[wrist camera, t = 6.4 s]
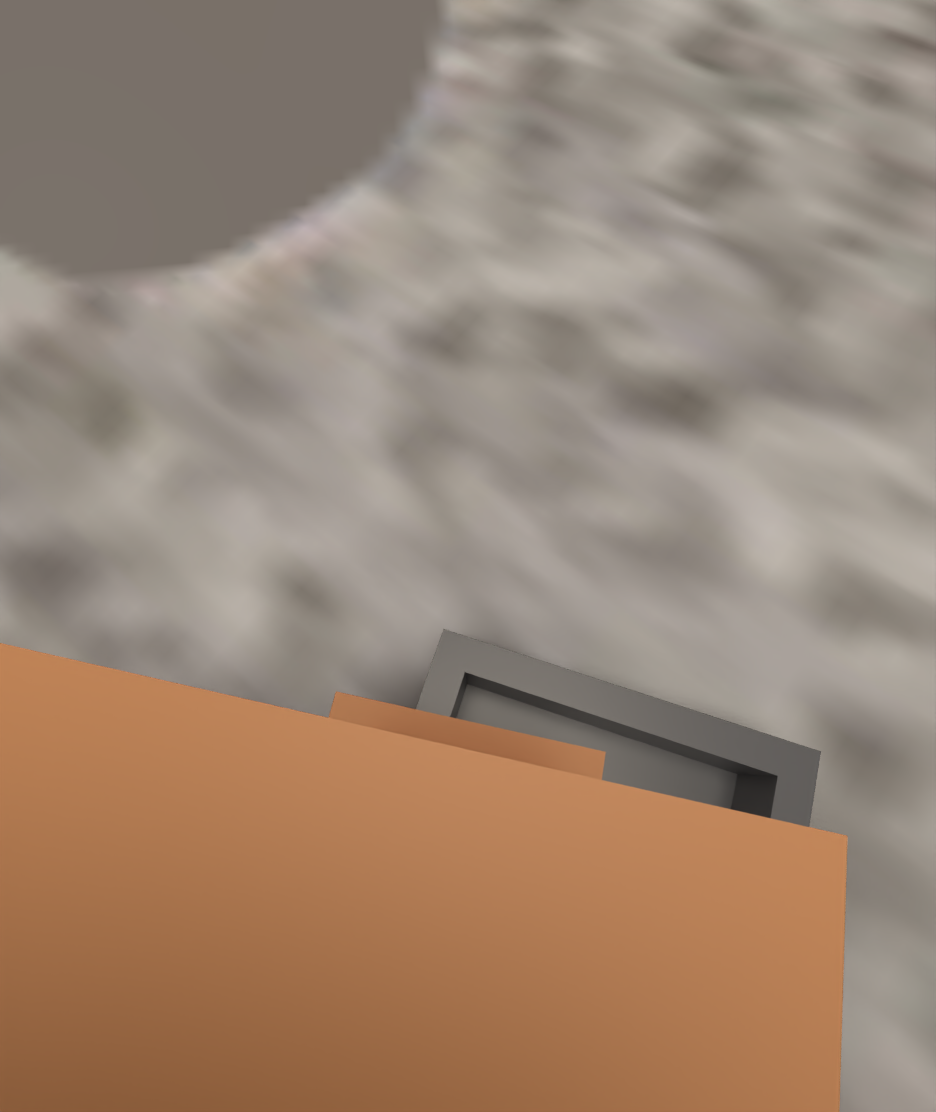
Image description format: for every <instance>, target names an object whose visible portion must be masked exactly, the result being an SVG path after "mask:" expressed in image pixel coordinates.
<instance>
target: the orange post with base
mask: <svg viewBox="0 0 936 1112" xmlns="http://www.w3.org/2000/svg"><path fill="white" fill-rule="evenodd" d="M605 754H606V752H604V751H600V750H595V749H591V748H586V747H582V746H578V745H573V744H569V743H564V742H560V741H555V740H551V739H546V738H542V737H537V736H533V735H528V734H524V733H519V732H515V731H510V730H506V729H501V728H497V727H493V726H488V725H484V724H479V723H475V722H470V721H466V720H461V719H457V718H452V717H448V716H443V715H439V714H434V713H430V712H425V711H421V710H416V709H412V708H407V707H403V706H399V705H394V704H390V703H385V702H381V701H376V700H372V699H367V698H363V697H358V696H354V695H349V694H345V693H340V692H336V693H335V697H334V700H333V704H332V707H331V711H330V715H329V718H327V717H323V716H318V715H314V714H310V713H305V712H301V711H296V710H292V709H288V708H283V707H279V706H274V705H270V704H266V703H261V702H257V701H252V700H248V699H244V698H239V697H235V696H230V695H226V694H222V693H217V692H213V691H208V690H204V689H200V688H195V687H191V686H186V685H182V684H178V683H173V682H169V681H164V680H160V679H156V678H151V677H147V676H142V675H138V674H134V673H129V672H125V671H120V670H116V669H112V668H107V667H103V666H98V665H94V664H90V663H85V662H81V661H77V660H72V659H68V658H63V657H59V656H55V655H50V654H46V653H41V652H37V651H33V650H28V649H24V648H19V647H15V646H11V645H6V644H2V643H0V1112H839V1104H840V1070H841V1036H842V1002H843V968H844V934H845V900H846V866H847V836H846V835H841V834H837V833H833V832H828V831H824V830H819V829H815V828H811V827H806V826H802V825H797V824H793V823H789V822H784V821H780V820H775V819H771V818H767V817H762V816H758V815H754V814H749V813H745V812H740V811H736V810H732V809H727V808H723V807H718V806H714V805H710V804H705V803H701V802H696V801H692V800H688V799H683V798H679V797H674V796H670V795H666V794H661V793H657V792H652V791H648V790H644V789H639V788H635V787H630V786H626V785H622V784H617V783H613V782H608V781H604V780H602V774H603V768H604V761H605Z"/></svg>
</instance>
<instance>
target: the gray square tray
mask: <svg viewBox="0 0 936 1112" xmlns="http://www.w3.org/2000/svg"><path fill="white" fill-rule="evenodd" d="M416 710H421V711H425V712H430V713H434V714H439V715H443V716H448V717H452V718H457V719H461V720H466V721H470V722H475V723H479V724H484V725H488V726H493V727H497V728H501V729H506V730H510V731H515V732H519V733H524V734H528V735H533V736H537V737H542V738H546V739H551V740H555V741H560V742H564V743H569V744H573V745H578V746H582V747H586V748H591V749H595V750H600V751H604V752H606V754H605V761H604V768H603V774H602V780H604V781H608V782H613V783H617V784H622V785H626V786H630V787H635V788H639V789H644V790H648V791H652V792H657V793H661V794H666V795H670V796H674V797H679V798H683V799H688V800H692V801H696V802H701V803H705V804H710V805H714V806H718V807H723V808H727V809H732V810H736V811H740V812H745V813H749V814H754V815H758V816H762V817H767V818H771V819H775V820H780V821H784V822H789V823H793V824H797V825H802V826H806V827H809V824H810V818H811V811H812V805H813V798H814V792H815V786H816V779H817V773H818V766H819V760H820V754H821V751H818V750H815V749H811V748H808V747H805V746H802V745H799V744H796V743H793V742H790V741H787V740H784V739H781V738H778V737H774V736H771V735H768V734H765V733H762V732H759V731H756V730H753V729H750V728H747V727H744V726H741V725H738V724H734V723H731V722H728V721H725V720H722V719H719V718H716V717H713V716H710V715H707V714H704V713H701V712H698V711H694V710H691V709H688V708H685V707H682V706H679V705H676V704H673V703H670V702H667V701H664V700H661V699H657V698H654V697H651V696H648V695H645V694H642V693H639V692H636V691H633V690H630V689H627V688H624V687H621V686H617V685H614V684H611V683H608V682H605V681H602V680H599V679H596V678H593V677H590V676H587V675H584V674H580V673H577V672H574V671H571V670H568V669H565V668H562V667H559V666H556V665H553V664H550V663H547V662H544V661H540V660H537V659H534V658H531V657H528V656H525V655H522V654H519V653H516V652H513V651H510V650H507V649H503V648H500V647H497V646H494V645H491V644H488V643H485V642H482V641H479V640H476V639H473V638H470V637H467V636H463V635H460V634H457V633H454V632H451V631H448V630H445V629H443V632H442V635H441V638H440V641H439V644H438V647H437V649H436V652H435V655H434V658H433V661H432V664H431V667H430V670H429V672H428V675H427V678H426V681H425V684H424V687H423V690H422V693H421V695H420V698H419V701H418V704H417V707H416Z"/></svg>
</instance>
